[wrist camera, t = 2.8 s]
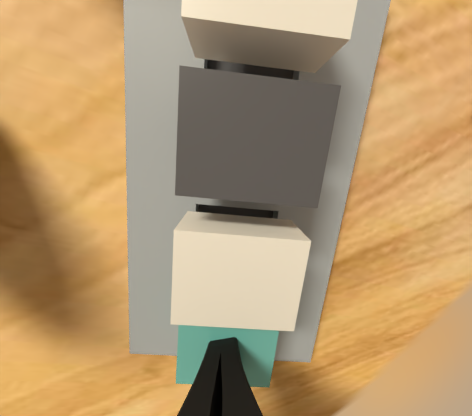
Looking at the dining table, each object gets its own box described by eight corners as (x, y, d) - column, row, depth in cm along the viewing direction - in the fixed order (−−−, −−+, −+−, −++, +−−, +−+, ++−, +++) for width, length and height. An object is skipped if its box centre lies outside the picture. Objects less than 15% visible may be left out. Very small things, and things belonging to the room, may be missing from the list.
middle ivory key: (284, 213, 11) (311, 241, 8) (274, 278, 12) (294, 331, 9) (191, 205, 11) (173, 230, 7) (188, 272, 12) (170, 324, 8)
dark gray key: (300, 111, 10) (341, 85, 6) (287, 190, 11) (317, 208, 7) (197, 98, 10) (179, 65, 6) (193, 181, 11) (174, 195, 7)
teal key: (266, 281, 14) (280, 325, 10) (259, 330, 15) (269, 387, 11) (192, 275, 14) (178, 319, 10) (189, 326, 15) (175, 383, 11)
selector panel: (377, -12, 11) (398, -36, 10) (303, 344, 16) (310, 362, 15) (136, -49, 10) (122, -80, 9) (138, 335, 15) (129, 353, 14)
